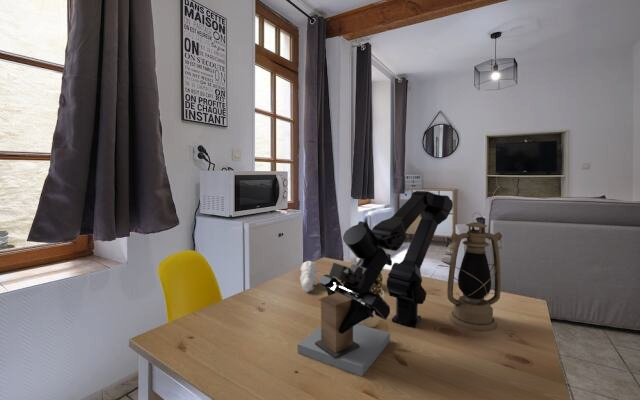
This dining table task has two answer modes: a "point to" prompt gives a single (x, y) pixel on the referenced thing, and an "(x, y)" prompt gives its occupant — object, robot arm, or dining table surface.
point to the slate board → (355, 360)
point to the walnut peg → (335, 326)
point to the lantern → (474, 280)
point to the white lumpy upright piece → (308, 275)
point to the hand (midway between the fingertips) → (331, 327)
